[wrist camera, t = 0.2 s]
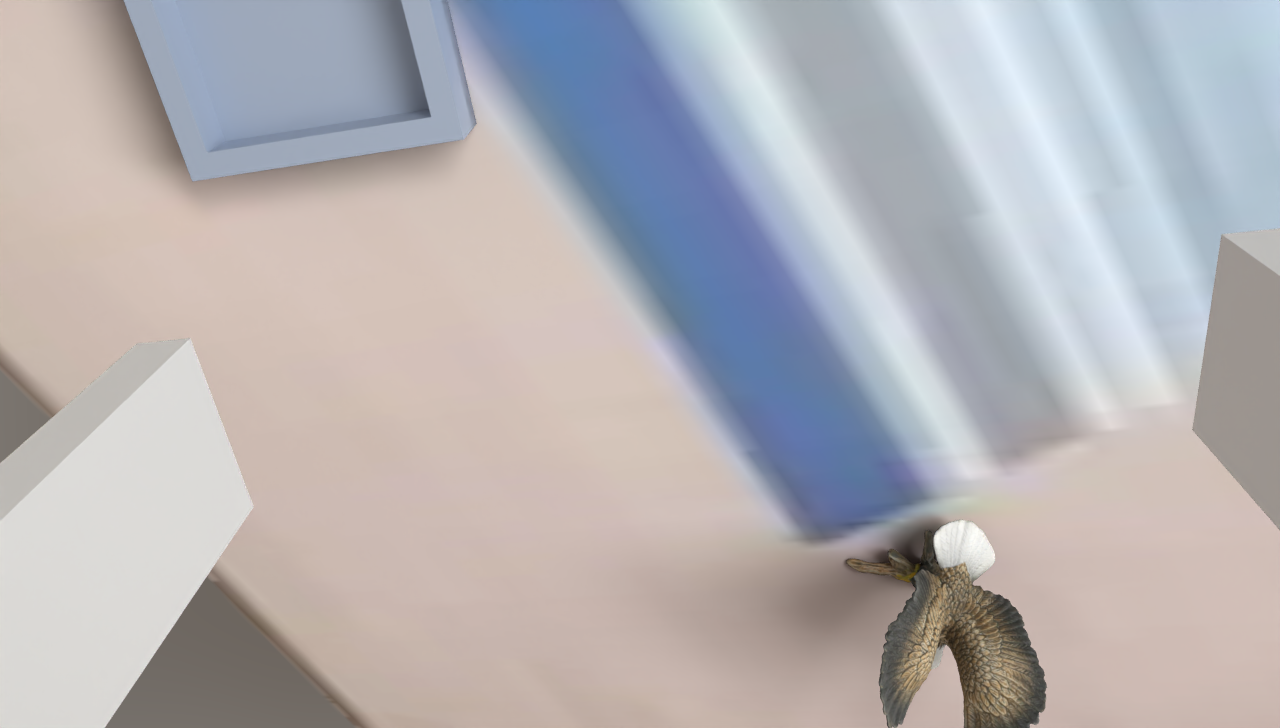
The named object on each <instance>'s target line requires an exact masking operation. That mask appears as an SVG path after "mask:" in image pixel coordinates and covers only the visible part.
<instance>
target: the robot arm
mask: <svg viewBox="0 0 1280 728" xmlns="http://www.w3.org/2000/svg"><path fill="white" fill-rule="evenodd" d="M1192 430H1193V431H1194V432H1195V433H1196V435H1197V436H1198V437H1199V438H1200V439H1201V440H1202V441H1203V443H1204V444H1205V445H1206V446H1207V447H1208V448H1209V449H1210V451H1211V452H1212V453H1213V454H1214V455H1215V456H1216V457H1217V459H1218V460H1219V461H1220V462H1221V463H1222V464H1223V466H1224V467H1225V468H1226V469H1227V470H1228V471H1229V472H1230V474H1231V475H1232V476H1233V477H1234V478H1235V479H1236V480H1237V482H1238V483H1239V484H1240V485H1241V486H1242V487H1243V488H1244V490H1245V491H1246V492H1247V493H1248V494H1249V495H1250V496H1251V498H1252V499H1253V500H1254V501H1255V502H1256V503H1257V505H1258V506H1259V507H1260V508H1261V509H1262V510H1263V511H1264V513H1265V514H1266V515H1267V516H1268V517H1269V518H1270V519H1271V521H1272V522H1273V523H1274V524H1275V525H1276V526H1277V527H1278V529H1279V530H1280V228H1279V229H1269V230H1259V231H1249V232H1239V233H1230V234H1222V235H1221V241H1220V248H1219V255H1218V262H1217V268H1216V275H1215V282H1214V288H1213V295H1212V302H1211V309H1210V315H1209V322H1208V329H1207V335H1206V342H1205V349H1204V356H1203V362H1202V369H1201V376H1200V382H1199V389H1198V396H1197V403H1196V409H1195V416H1194V423H1193V429H1192ZM253 507H254V506H253V504H252V501H251V498H250V496H249V493H248V490H247V488H246V485H245V482H244V480H243V477H242V474H241V472H240V469H239V466H238V464H237V461H236V458H235V456H234V453H233V451H232V448H231V445H230V443H229V440H228V437H227V435H226V432H225V429H224V427H223V424H222V421H221V419H220V416H219V413H218V411H217V408H216V405H215V403H214V400H213V397H212V395H211V392H210V389H209V387H208V384H207V381H206V379H205V376H204V373H203V371H202V368H201V365H200V363H199V360H198V358H197V355H196V352H195V350H194V347H193V344H192V342H191V339H190V338H188V339H179V340H169V341H159V342H149V343H139V344H136V345H135V346H133V347H132V348H131V349H130V350H129V351H128V352H127V353H125V354H124V355H123V356H122V357H121V358H120V359H119V360H117V361H116V362H115V363H114V364H113V365H112V366H111V367H109V368H108V369H107V370H106V371H105V372H104V373H103V374H101V375H100V376H99V377H98V378H97V379H96V380H95V381H93V382H92V383H91V384H90V385H89V386H88V387H87V388H86V389H84V390H83V391H82V392H81V393H80V394H79V395H78V396H76V397H75V398H74V399H73V400H72V401H71V402H70V403H68V404H67V405H66V406H65V407H64V408H63V409H62V410H60V411H59V412H58V413H57V414H56V415H55V416H54V417H52V418H51V419H50V420H49V421H48V422H47V423H46V424H45V425H43V426H42V427H41V428H40V429H39V430H38V431H37V432H35V433H34V434H33V435H32V436H31V437H30V438H29V439H28V440H26V441H25V442H24V443H23V444H22V445H21V446H19V448H17V449H16V450H15V451H14V452H13V453H11V454H10V455H9V456H8V457H7V458H6V459H5V460H3V461H2V462H1V463H0V728H105V726H106V725H107V723H108V722H109V721H110V719H111V718H112V716H113V714H114V713H115V712H116V710H117V708H118V707H119V706H120V704H121V703H122V701H123V700H124V698H125V697H126V695H127V694H128V692H129V691H130V689H131V687H132V686H133V685H134V683H135V682H136V680H137V679H138V677H139V676H140V675H141V673H142V671H143V670H144V669H145V667H146V665H147V664H148V663H149V661H150V660H151V658H152V657H153V655H154V654H155V652H156V651H157V649H158V648H159V646H160V645H161V643H162V642H163V640H164V639H165V637H166V636H167V634H168V633H169V631H170V630H171V629H172V627H173V626H174V624H175V622H176V621H177V620H178V618H179V617H180V615H181V614H182V612H183V611H184V609H185V608H186V606H187V605H188V603H189V602H190V600H191V599H192V597H193V596H194V594H195V593H196V591H197V590H198V588H199V587H200V586H201V584H202V582H203V581H204V580H205V578H206V577H207V575H208V574H209V572H210V571H211V569H212V568H213V566H214V565H215V563H216V562H217V560H218V559H219V557H220V556H221V554H222V553H223V551H224V550H225V548H226V547H227V545H228V544H229V542H230V541H231V540H232V538H233V537H234V535H235V534H236V532H237V531H238V529H239V528H240V526H241V525H242V523H243V522H244V520H245V519H246V517H247V516H248V514H249V513H250V511H251V510H252V508H253Z"/></svg>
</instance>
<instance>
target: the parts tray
mask: <svg viewBox="0 0 1280 728" xmlns="http://www.w3.org/2000/svg"><path fill="white" fill-rule="evenodd" d="M124 3H125V5H126V8H127V11H128V13H129V16H130V18H131V21H132V24H133V26H134V29H135V32H136V34H137V37H138V40H139V42H140V45H141V47H142V50H143V53H144V55H145V58H146V61H147V63H148V66H149V68H150V71H151V74H152V76H153V79H154V82H155V84H156V87H157V89H158V92H159V95H160V97H161V100H162V103H163V105H164V108H165V111H166V113H167V116H168V118H169V121H170V124H171V126H172V129H173V132H174V134H175V137H176V139H177V142H178V145H179V147H180V150H181V153H182V155H183V158H184V161H185V163H186V166H187V168H188V171H189V174H190V176H191V179H192V181H198V180H205V179H211V178H218V177H224V176H231V175H237V174H244V173H250V172H257V171H263V170H269V169H276V168H282V167H289V166H295V165H302V164H308V163H315V162H321V161H328V160H334V159H341V158H347V157H354V156H360V155H366V154H373V153H379V152H386V151H392V150H399V149H405V148H412V147H418V146H425V145H431V144H438V143H444V142H450V141H457V140H463V139H464V138H465V137H466V136H467V135H468V134H469V132H470V131H471V130H472V129H473V127H474V126H475V125H476V124H477V123H476V119H475V115H474V111H473V106H472V102H471V98H470V94H469V90H468V86H467V81H466V77H465V73H464V69H463V65H462V60H461V56H460V52H459V48H458V44H457V39H456V35H455V31H454V27H453V23H452V19H451V14H450V10H449V6H448V2H447V0H124Z"/></svg>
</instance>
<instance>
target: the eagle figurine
mask: <svg viewBox="0 0 1280 728" xmlns="http://www.w3.org/2000/svg"><path fill="white" fill-rule="evenodd" d="M933 546H934V550H933ZM934 551H935V554H936V558H937V563H936V561H935V560H934ZM888 557H889V560H890V563H869V562H864V561H862V560H858V559H848V560H847V564H848V565H849V566H850V567H852V568H854V569H856V570H858V571H859V572H864V573H865V572H869V573H873V574H878V575H891V576H893V577H895V578H896V579H898V580H904V581H906V582H911V583H912V584H913V586H914V587H915V588H916V590H915V592H913V594H912V598H910V599H909V600H907V601H906V605H905V607H904V610H903V612H902V613H899V614H898V618H897V620H896V621H894V622H892V623H891V624H890V625H889V626H888V632H887V633H886V634H885V639H886V641H887V642H886V643H885V644H884V646H883V647H884V653H883V655H882V664H881V669H880V671H881V674H880V678H879V686H880V698H881V700H882V703H883V712H884V714H885V715H886V718H887V726H888V728H892V726H893V727H894V728H896V727H897V726H898V723H899V724H901V725H902V723H903V720H904V717H905V715H906V712H907V710H908V707H909V705H910V703H911V701H912V699H913V697H914V695H915V693H916V692H917V691H918V690H919V688H920V686H921V685H922V683H923V682H924V681H925V680H926V678H927V676H928V674H929V672H930V670H931V669H934V668H937V667H938V666H939V664H940V661H941V657H942V653H943V649H944V647H945V645H947V646H948V647H949V648H950V649H951V651H952V653H953V655H954V658H955V660H956V662H957V666H958V671H959V675H960V682H961V686H962V690H963V695H964V728H1030V724H1034V725H1037V724H1038V723H1039V712H1041V713H1042V712H1043V711H1044V709H1045V701H1046V694H1045V691H1046V688H1047V686H1046V682H1045V680H1044V671H1043V669H1042V668H1041V667H1040V666H1039V664H1038V663H1039V661H1038V658H1037V654H1036V652H1035V650H1033V648H1031V647H1030V645H1031V642H1030V640H1029V638H1028V634H1027V632H1026V630H1025V629H1024V628H1023V626H1024V622H1023V621H1022V616H1021V615H1020V614H1019V613H1018V611H1017V609H1016V608H1015V607H1013V606H1012V605H1011V603H1010V601H1009V600H1008V599H1004V598H1003V596H1001V595H999V594H998V595H995V594H993V593H992V592H991V591H983V589H982V588H981V586H974V585H972V583H973V582H974V580H976V579H977V578H978V577H979V576H981V575H982V574H983V573H984V572H985V571H986V570H988V569H989V568H990V567H991V566H992V565H993V564H994V562H995V555H994V550H993V548H992V546H991V545H990V543H989V541H988V540H987V538H986V535H985V533H984V531H983V530H981V529H980V528H978V527H977V526H976V525H975V524H974V523H973V522H971V521H965V520H957V521H953V522H949V523H947V524H945V525H943V526H941V527H940V528H939V530H938V531H936V532H935V534H934V536H933V539H932V533H931V532H930V531H928V530H926V531H925V543H924V549H923V555H922V557H921V564H919V563H915V564H913V563H911V562H910V561H908V560H907V559H906V558H905V557H904V556H902V555H901V554H900V553H899V552H898V551H896V550H895V549H890V550H889V551H888Z"/></svg>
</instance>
